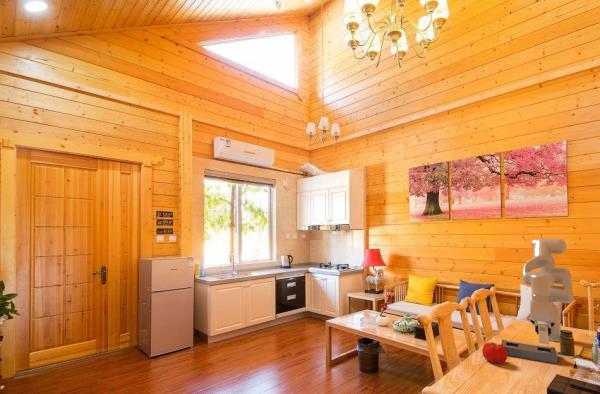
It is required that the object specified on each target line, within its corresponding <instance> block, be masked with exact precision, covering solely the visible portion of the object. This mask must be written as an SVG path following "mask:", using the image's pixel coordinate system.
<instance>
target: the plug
mask: <svg viewBox="0 0 600 394" xmlns="http://www.w3.org/2000/svg"><path fill="white" fill-rule="evenodd" d="M537 324H538V332H539V334H538V343H539V344H541V345H550V343H549V341H550V340H548V326H547V324H541V323H538V322H537Z"/></svg>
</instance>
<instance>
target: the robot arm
mask: <svg viewBox="0 0 600 394" xmlns="http://www.w3.org/2000/svg"><path fill="white" fill-rule="evenodd" d="M530 244H531V248H532V250H533V255H532V258H531V259H529V260H527V261H526V263H524V265H523V268H522V275H521V280H522V282H523V284H524V285H527V286H531V287H530V288H531V299H530V301H529V313H528V315H527V316H526V318H525V319H526V321H528V322H530V323H531V324H532V325H533V326H534V332H536V335H539V332H538V322H540V324H547V326H548V340H549V341H551V342H558V343H560V330H562V329H561V321H560V320H561V318H560V317H561V316H560V314H561V313H560V309H559V307H558V306H557V305H556V304H555V303H562V304H572V303H573V302H574V291H573V290H574V289H573V288H574V287H573V278H572V273H571V271H570V270H569V269H568V268H564V267H556V259H555V258H554V256H553V254H555V255H556V254H557V255H563V254H564V255H565V253H566V252H567V249H568V247H567V246H568V245H567V242H566V240H564V239H563V238H562V239H561V238H534V239H532V240H531V243H530ZM537 269H538V271H534V270H537ZM556 284H557V285H556ZM561 285H562V286H561Z"/></svg>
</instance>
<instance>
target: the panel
mask: <svg viewBox="0 0 600 394" xmlns="http://www.w3.org/2000/svg"><path fill="white" fill-rule="evenodd" d="M500 345H503V346H504V348H505V350H506V352H507V357H512V358H513V357H514V358H520V359H526V360H530V361H531V360H532V361H535V362H536V361H537V362H542V363H549V364H554V365H559V362H558V361H559V360H558V354H557V353H558V352H557V349H556V347H555V346H549V345H548V346H547V345H544V344H534V343H529V342H528V343H527V342H521V341H516V340H508V339H501V343H500Z"/></svg>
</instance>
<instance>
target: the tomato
mask: <svg viewBox="0 0 600 394" xmlns="http://www.w3.org/2000/svg"><path fill="white" fill-rule="evenodd" d="M481 353H482V356H483V357H484V358H485V360H487V361H488V362H491V363H495V364H496V363H497V364H502V363H504V362H506V361H507V359H508V355H507V352H506V350H505V348H504V346H503V345H501V343H498V344H497V343H495V342H493V341H490V342H485V343H484V344H483V347H482V351H481Z"/></svg>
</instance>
